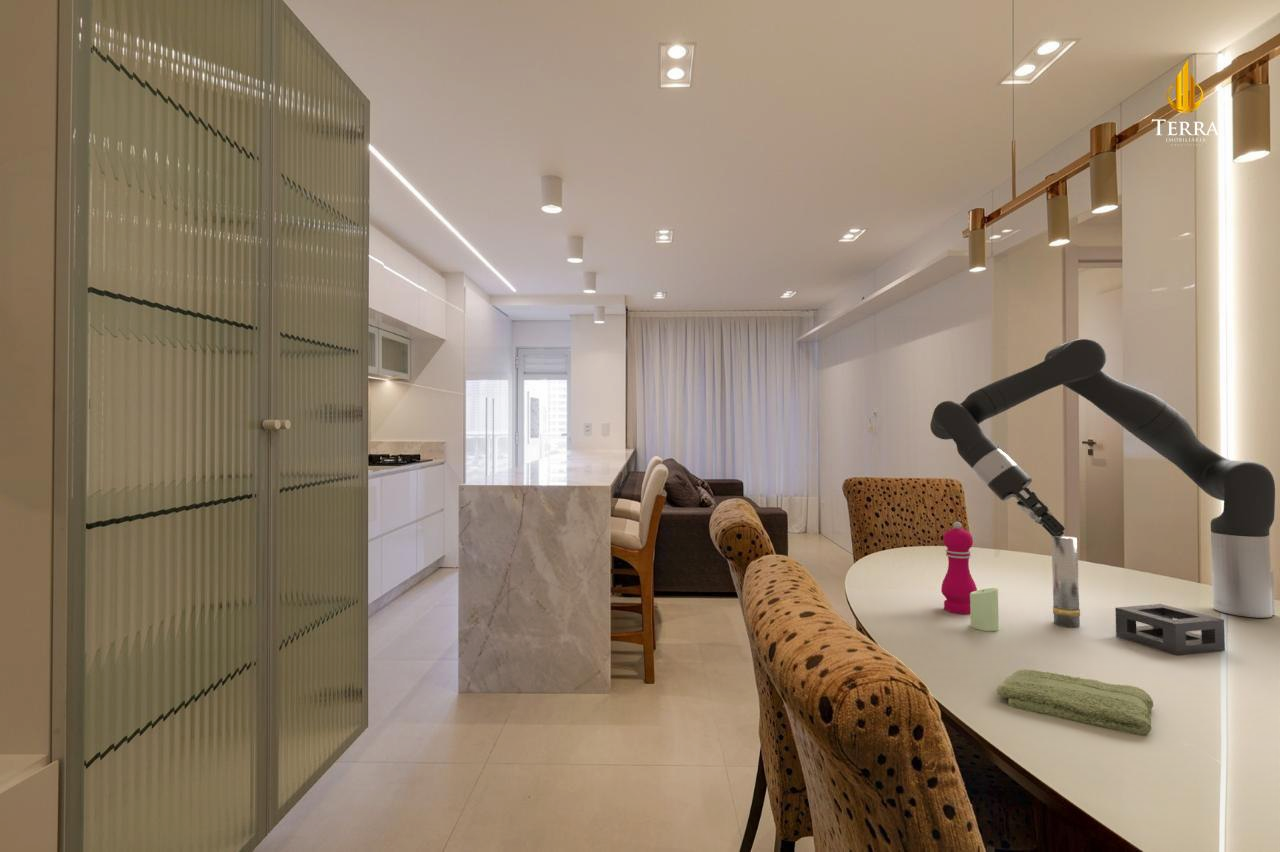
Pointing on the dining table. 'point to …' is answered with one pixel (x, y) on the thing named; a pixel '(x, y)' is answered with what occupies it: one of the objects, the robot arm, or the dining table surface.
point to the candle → (984, 609)
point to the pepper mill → (958, 570)
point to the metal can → (1065, 581)
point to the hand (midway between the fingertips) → (1060, 534)
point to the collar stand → (1170, 629)
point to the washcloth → (1080, 700)
